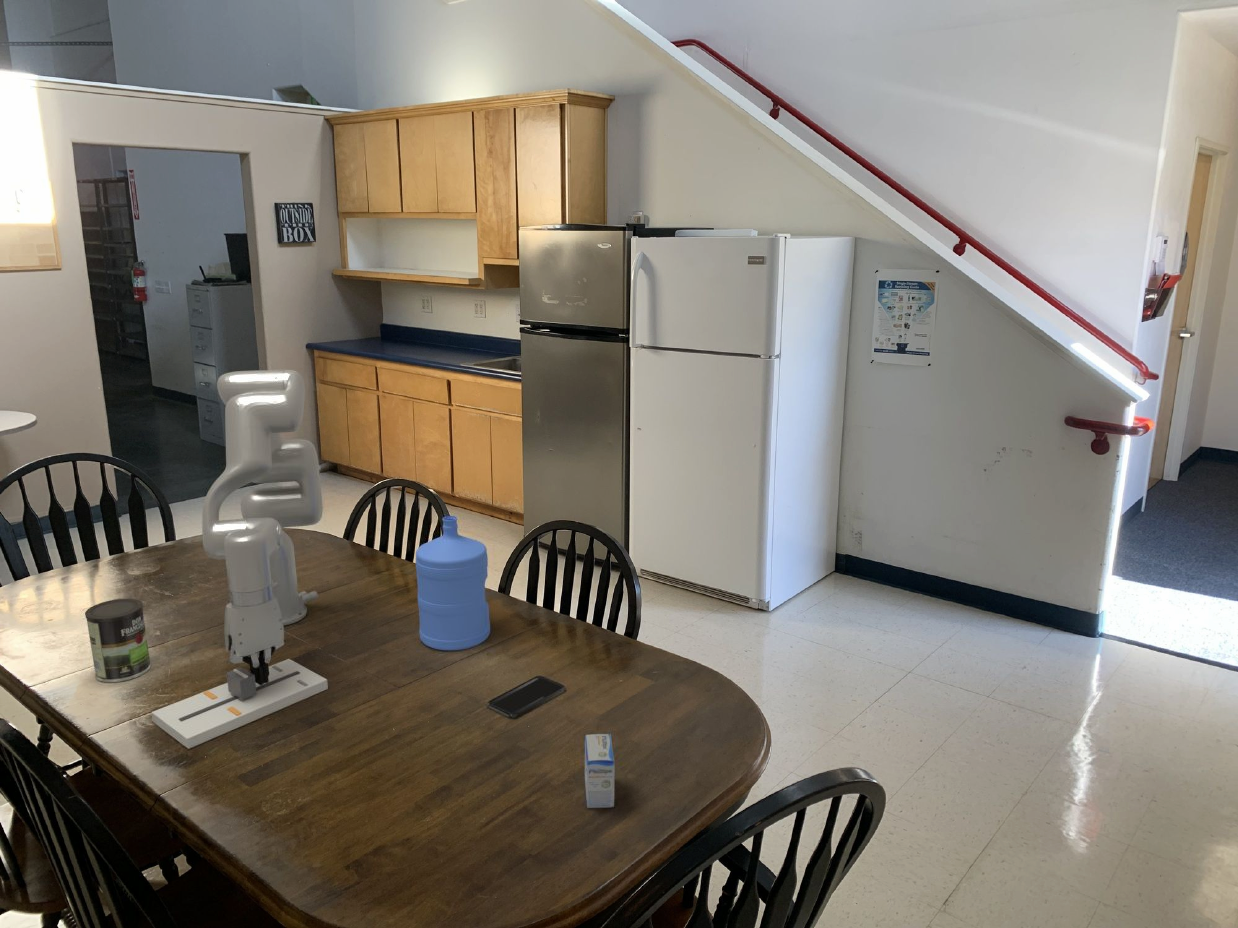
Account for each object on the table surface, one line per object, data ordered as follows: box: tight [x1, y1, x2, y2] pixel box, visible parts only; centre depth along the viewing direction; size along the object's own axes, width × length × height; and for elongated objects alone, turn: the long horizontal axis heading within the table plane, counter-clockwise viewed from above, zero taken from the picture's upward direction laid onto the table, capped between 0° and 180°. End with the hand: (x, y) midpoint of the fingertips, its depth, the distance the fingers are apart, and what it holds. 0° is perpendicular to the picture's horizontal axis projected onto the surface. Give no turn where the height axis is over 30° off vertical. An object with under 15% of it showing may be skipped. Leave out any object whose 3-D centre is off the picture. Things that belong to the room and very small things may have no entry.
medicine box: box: [584, 733, 616, 809], centre depth 146 cm, size 8×4×9 cm, turn 5°
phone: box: [486, 675, 566, 720], centre depth 177 cm, size 8×1×15 cm
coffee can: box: [84, 598, 152, 683], centre depth 186 cm, size 10×10×14 cm
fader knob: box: [226, 666, 257, 700], centre depth 173 cm, size 3×5×4 cm, turn 50°
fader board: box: [151, 658, 329, 750], centre depth 174 cm, size 28×14×2 cm, turn 140°
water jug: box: [415, 515, 491, 651], centre depth 200 cm, size 16×16×28 cm
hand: (260, 681), depth 176 cm, fingers closed
